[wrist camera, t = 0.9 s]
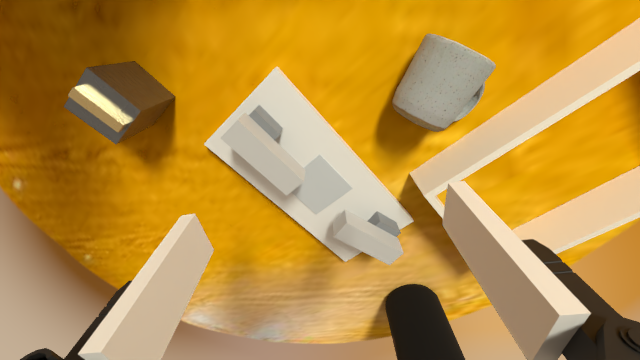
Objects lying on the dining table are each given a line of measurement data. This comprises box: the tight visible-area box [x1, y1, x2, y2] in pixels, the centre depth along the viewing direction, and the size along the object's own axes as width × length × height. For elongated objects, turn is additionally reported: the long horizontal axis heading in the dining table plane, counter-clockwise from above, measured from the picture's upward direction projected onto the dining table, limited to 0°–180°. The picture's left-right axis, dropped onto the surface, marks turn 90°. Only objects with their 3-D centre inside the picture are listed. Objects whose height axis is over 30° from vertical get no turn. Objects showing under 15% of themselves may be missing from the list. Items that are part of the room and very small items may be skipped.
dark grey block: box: [64, 61, 175, 144], centre depth 28 cm, size 6×6×8 cm
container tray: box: [410, 18, 640, 254], centre depth 33 cm, size 22×32×6 cm
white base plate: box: [204, 67, 414, 265], centre depth 34 cm, size 30×14×7 cm, turn 42°
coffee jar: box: [386, 284, 465, 360], centre depth 44 cm, size 11×11×18 cm
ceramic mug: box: [392, 34, 496, 132], centre depth 27 cm, size 11×8×8 cm
